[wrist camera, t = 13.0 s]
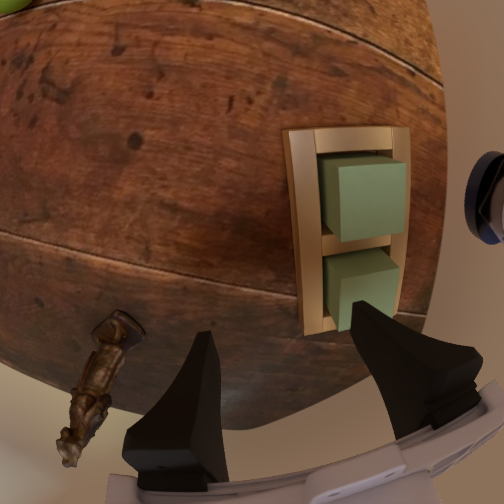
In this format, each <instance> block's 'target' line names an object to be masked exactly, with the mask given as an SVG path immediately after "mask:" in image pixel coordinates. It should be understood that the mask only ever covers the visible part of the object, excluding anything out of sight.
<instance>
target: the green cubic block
mask: <svg viewBox="0 0 504 504" xmlns="http://www.w3.org/2000/svg"><path fill="white" fill-rule="evenodd" d="M316 158H317V170H318V183H319V197H320V214H321V220H322V221H323V222H324V223H325V224H326V225H327V227H328V228H329V229H330V230H331V231H332V232H333V234H334V235H335V236H336V237H337V238H338V239H339V241H340V242H347V241H353V240H360V239H366V238H372V237H379V236H385V235H391V234H398V233H403V232H404V221H405V202H406V163H404V162H401V161H398V160H395V159H392V158H388V157H385V156H381V155H378V154H374V153H371V152H369V153H350V154H335V155H323V156H316Z"/></svg>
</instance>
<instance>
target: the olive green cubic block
mask: <svg viewBox="0 0 504 504" xmlns="http://www.w3.org/2000/svg"><path fill="white" fill-rule="evenodd" d="M322 268H323V300H324V302H325V304H326V306H327V308H328V310H329V312H330V315H331V317H332V319H333V321H334V323H335V325H336V327H337V330H338V331H343V330H347V329H350V326H351V315H352V303H353V302H357V301H361V300H364V301H366V302H367V303H369V304H370V305H372V306H374V307H375V308H377V309H378V310H380V311H381V312H383V313H384V314H386V315H387V316H389V317H391V318H392V316H393V311H394V305H395V299H396V293H397V287H398V280H399V272H400V267H399V266H398V265H397V264H396V263H395V262H394V261H393V260H392V259H391V258H390V257H389V256H388V255H387V254H386V253H385V252H384V251H383V250H382V249H381V248H380V247H375V248H369V249H363V250H357V251H351V252H345V253H339V254H333V255H327V256H322Z"/></svg>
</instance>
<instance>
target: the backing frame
mask: <svg viewBox="0 0 504 504" xmlns="http://www.w3.org/2000/svg"><path fill="white" fill-rule="evenodd" d="M282 137H283V145H284V153H285V162H286V171H287V180H288V189H289V199H290V210H291V220H292V232H293V243H294V256H295V269H296V284H297V299H298V317H299V321H300V324H301V327H302V330H303V333H304V335H310V334H315V333H320V332H322V331H323V332H325V331H330V330H334V329H337V327H336V325H335V323H334V321H333V319H332V317H331V315H330V312H329V310H328V308H327V306H326V304H325V302H324V300H323V268H322V256H327V255H333V254H339V253H345V252H351V251H357V250H363V249H369V248H375V247H380V248H381V249H382V250H383V251H384V252H385V253H386V254H387V255H388V256H389V257H390V258H391V259H392V260H393V261H394V262H395V263H396V264H397V265H398V266H399V267H400V272H399V280H398V287H397V293H396V299H395V305H394V311H393V315H396V314H397V309H398V304H399V298H400V293H401V286H402V280H403V273H404V265H405V257H406V248H407V238H408V227H409V212H410V187H411V153H410V129H409V127H403V126H393V125H353V126H327V127H311V128H298V129H287V130H282ZM361 150H377V154H378V155H381V156H385V157H388V158H392V159H395V160H398V161H401V162H404V163H406V202H405V221H404V232H403V233H398V234H391V235H385V236H379V237H372V238H366V239H360V240H353V241H347V242H340V241H339V239H338V238H337V237H336V236H335V235H334V234H333V232H332V231H331V230H330V229H329V228H328V227H327V225H326V224H325V223H324V222H322V223H321V214H320V197H319V183H318V170H317V158H316V153H329V152H343V151H361Z"/></svg>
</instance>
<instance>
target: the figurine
mask: <svg viewBox="0 0 504 504" xmlns="http://www.w3.org/2000/svg"><path fill="white" fill-rule="evenodd" d="M144 338H145V335H144V332H143V330H142V328H141V327H140V326H139V325H138V324H137V323H136V322H135V321H134V319H133V318H131V317H130V316H129V315H128V314H127V313H124V312H121V311H115V312H114V313H113V314H111V315H110V316H109V317H108V318H107V319H106V320H105V321H104V322H103V323H101V324H100V325H99V326H98V327H97V328H96V329H95V330H94V331H93V332H92V333H91V339H92V340H93V341H94V343H95V344H96V345H97V346H98V347H99V349H98V351H97V352H95V351H93V352H92V353H91V355H90V356H89V358H88V359H87V362H86V364H85V366H84V368H83V371H82V375H81V377H80V379H79V380H78V383H77V385H76V388H73V389H71V395H72V400H71V401H70V402H71V406H70V410H69V415H70V421H71V422H70V428H68V427H64V428H63V429H62V430H61V432H60V433H61V438H60V439H58V440H56V445H57V450H58V452H59V454H60V455H61V456H62V457H63V461H62V464H63V466H64V467H67V468H68V467H76V466H77V461H78V459H79V458H80V457H81V453H82V450H83V448H84V447H86V446H87V444H88V442H89V441H90V439H91V438H92V437H94V436H95V432H96V430H98V429H99V427H100V426H101V425H102V423H103V422H104V420H105V419H106V417H107V415H108V412H107V410H108V408H110V407H111V405H112V400H111V396H110V395H109V392H110V390H111V389H112V385H113V383H114V382H115V381H116V378H117V376H116V373H117V372H118V370H119V369H120V367H121V366H122V365H123V364H124V360H125V353H126V352H127V351H129V350H130V349H132V348H133V347H134V346H136V345H137V344H139V343H141V342H142V341H144Z"/></svg>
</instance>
